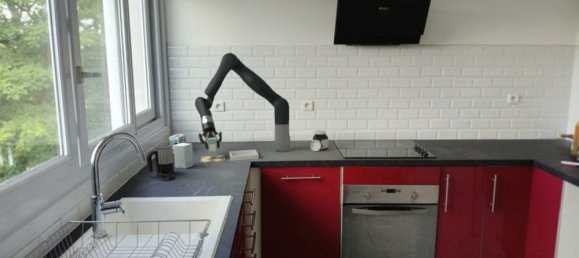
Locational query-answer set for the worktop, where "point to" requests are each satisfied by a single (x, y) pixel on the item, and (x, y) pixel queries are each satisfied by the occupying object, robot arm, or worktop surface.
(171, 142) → the light bulb box
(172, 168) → the milk frother
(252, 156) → the tray
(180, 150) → the supplement box
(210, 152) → the carton
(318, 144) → the spread jar
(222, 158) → the board
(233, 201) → the worktop surface
